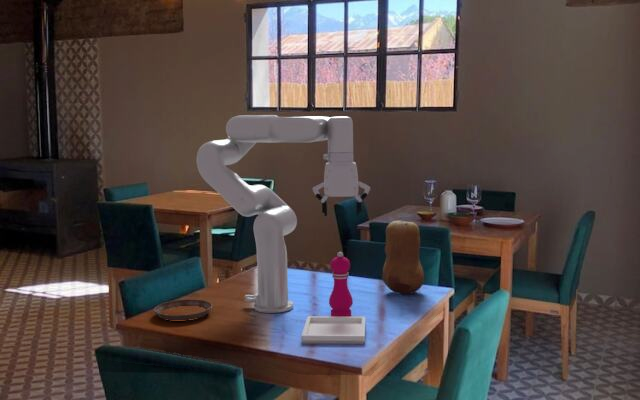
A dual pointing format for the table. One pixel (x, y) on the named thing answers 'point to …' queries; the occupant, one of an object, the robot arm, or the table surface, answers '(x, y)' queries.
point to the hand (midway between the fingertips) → (341, 215)
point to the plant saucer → (185, 302)
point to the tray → (334, 330)
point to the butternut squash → (402, 258)
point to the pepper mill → (340, 287)
